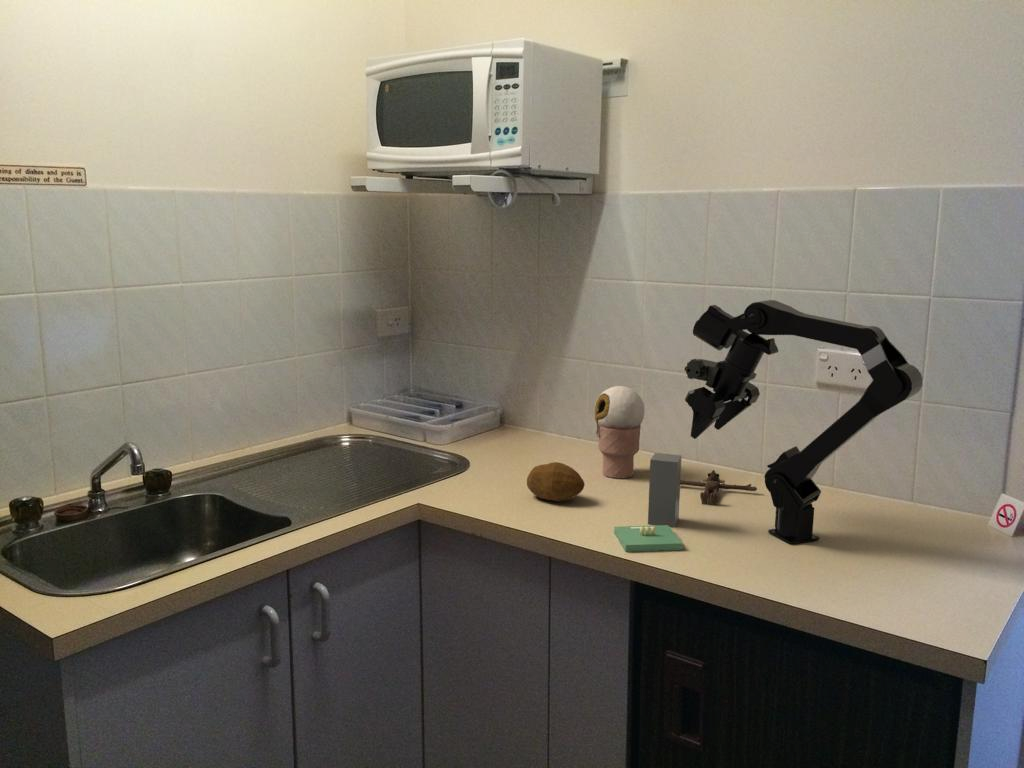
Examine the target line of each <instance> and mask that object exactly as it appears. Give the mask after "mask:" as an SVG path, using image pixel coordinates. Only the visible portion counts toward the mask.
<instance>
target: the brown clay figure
mask: <svg viewBox="0 0 1024 768" xmlns="http://www.w3.org/2000/svg"><path fill="white" fill-rule="evenodd" d="M702 481H703V482H702ZM702 481H699V480H698V481H694V480H683V479H680V486H681V485H682V486H683V485H685V486H694V487H699V488H700V487H702V488H704V491H703V492H702V491H701V492H700V494H699V495H700V499H701V505H704V506H705V505H708V504H709V498H710V505H711V506H717V505H718V501H719V499H720V494H719V493H720V489H722V490H737V491H738V490H739V491H747V492H756V491H757V490H758V488H757V487H756V486H752V484H751V483H750V484H747V485H739V484H726V483H725V482H726V481H725V480H724V479H720V474H719V473H716V470H714V469H713V470H712V471H711V472H708V473H707V478H703V479H702Z"/></svg>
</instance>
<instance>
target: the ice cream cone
mask: <svg viewBox="0 0 1024 768" xmlns="http://www.w3.org/2000/svg"><path fill="white" fill-rule="evenodd" d="M645 411H646V409H645V404H644V402H643V399H642V397H641V396H640V394H639V393H638V392H637V391H635V390H634V389H632V388H630V387H628V386H624V385H615V386H612V387H608V388H607V389H606V390H604V391H602V392H601V394H599V395H598V397H597V399H596V401H595V404H594V419H595V422H596V433H595V436H596V437H597V438H598V445H597V446H598V450H599V451H600V453H601V454H602V475H603V476H605V477H607V478H611V479H619V480H620V478H623V479H625V478H626V479H628V478H630V477H632V476H633V475H634V467H635V466H634V462H635V461H634V459H635V457H634V456H635V455H636V454H638V453H639V451H640V437H641V424H642V423H643V420H644V419H645Z"/></svg>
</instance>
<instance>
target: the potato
mask: <svg viewBox="0 0 1024 768" xmlns="http://www.w3.org/2000/svg"><path fill="white" fill-rule="evenodd" d="M526 486H527V488H528V489H529V491H530V492H531V493H532V494H533V495H534V496H535V497H537V498H540V499H542V500H547V501H554V502H565V501H567V500H571V499H573V498H574V497H576V496H578V495H579V494H580V493H582V492H583V490H584V488H585V481H584V479H583V478H582V476H581V475H580V473H579V472H577V471H576V469H574V468H573V467H571V466H570V465H567V464H565V463H561V462H558V461H557V462H556V461H554V462H549V463H544V464H539V465H537V466H534V467H533V468H532V469H531V470H530V471H529V474H528V475H527V479H526Z"/></svg>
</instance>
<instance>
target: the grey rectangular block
mask: <svg viewBox="0 0 1024 768" xmlns="http://www.w3.org/2000/svg"><path fill="white" fill-rule="evenodd" d="M649 462H650V463H649V482H648V484H649V489H648V511H647V512H648V513H647V516H648V517H647V525H651V526H656V525H668V526H669V527H670V528H676V525H677V523H678V522H679V518H680V502H681V501H680V499H681V497H680V496H681V485H680V480H682V478H681V477H682V476H681V475H682V474H681V473H682V455H681V454H670V453H660V452H654V453H653V455H652V457H651V458H650V460H649Z"/></svg>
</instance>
